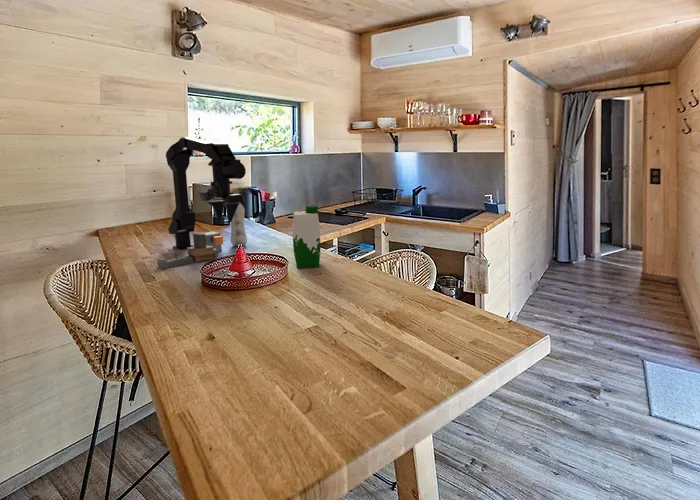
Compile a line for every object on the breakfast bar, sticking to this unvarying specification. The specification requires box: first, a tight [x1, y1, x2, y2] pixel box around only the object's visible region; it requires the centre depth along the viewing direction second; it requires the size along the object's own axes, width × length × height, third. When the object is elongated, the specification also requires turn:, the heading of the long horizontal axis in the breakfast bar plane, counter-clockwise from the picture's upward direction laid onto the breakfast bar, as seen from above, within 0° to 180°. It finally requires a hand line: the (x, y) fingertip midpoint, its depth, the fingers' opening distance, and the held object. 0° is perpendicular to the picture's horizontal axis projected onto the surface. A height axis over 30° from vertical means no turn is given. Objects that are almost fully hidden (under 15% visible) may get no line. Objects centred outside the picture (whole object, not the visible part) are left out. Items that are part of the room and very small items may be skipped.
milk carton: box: [292, 205, 322, 269], centre depth 155 cm, size 9×9×20 cm
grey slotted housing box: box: [202, 231, 223, 252], centre depth 183 cm, size 6×7×7 cm
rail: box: [156, 249, 219, 270], centre depth 165 cm, size 4×21×3 cm, turn 138°
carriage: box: [186, 231, 215, 263], centre depth 168 cm, size 6×7×9 cm
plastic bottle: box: [229, 202, 248, 247], centre depth 190 cm, size 6×7×20 cm
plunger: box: [210, 235, 224, 246], centre depth 180 cm, size 7×3×3 cm, turn 48°
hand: (224, 221), depth 172 cm, fingers open, 6 cm apart
